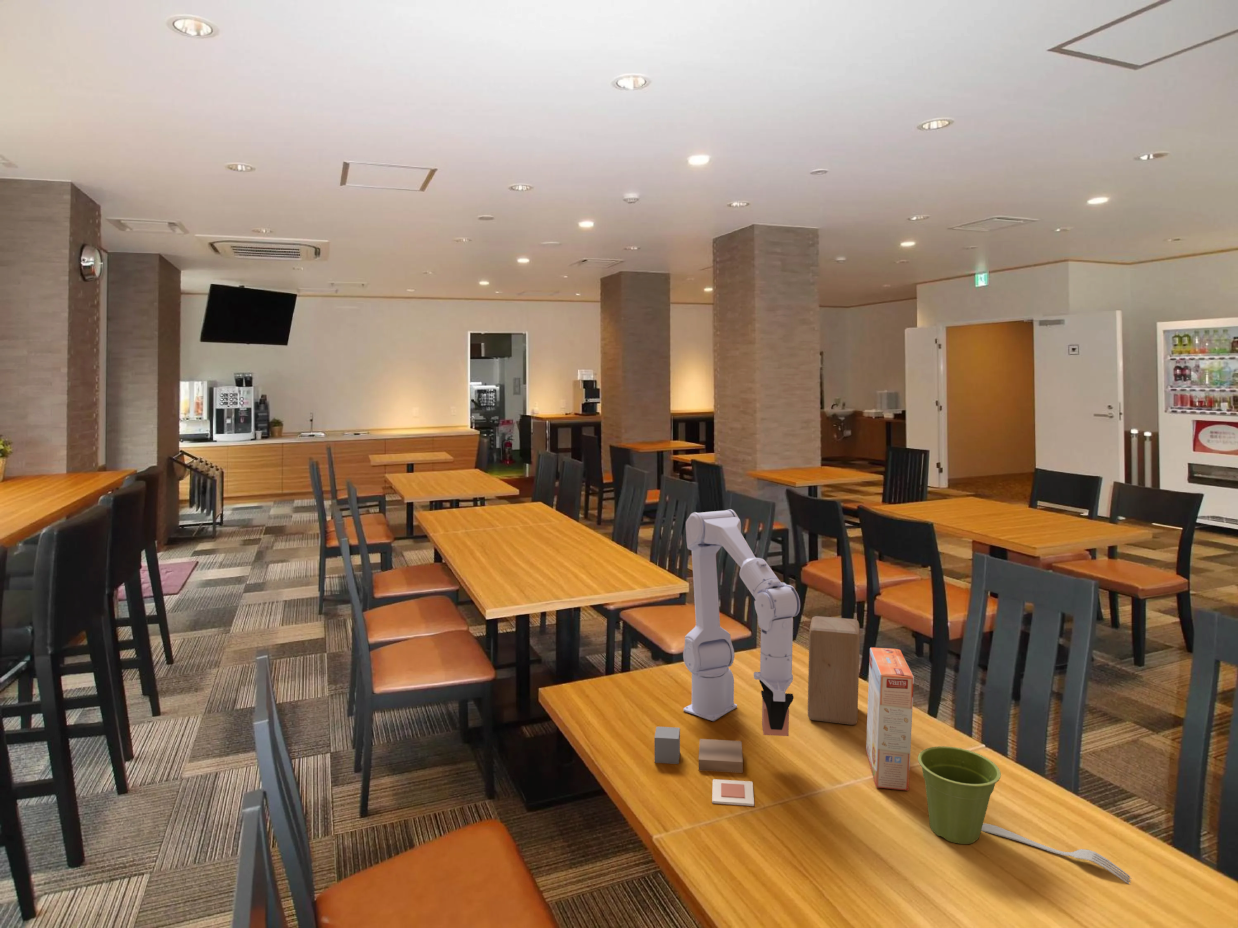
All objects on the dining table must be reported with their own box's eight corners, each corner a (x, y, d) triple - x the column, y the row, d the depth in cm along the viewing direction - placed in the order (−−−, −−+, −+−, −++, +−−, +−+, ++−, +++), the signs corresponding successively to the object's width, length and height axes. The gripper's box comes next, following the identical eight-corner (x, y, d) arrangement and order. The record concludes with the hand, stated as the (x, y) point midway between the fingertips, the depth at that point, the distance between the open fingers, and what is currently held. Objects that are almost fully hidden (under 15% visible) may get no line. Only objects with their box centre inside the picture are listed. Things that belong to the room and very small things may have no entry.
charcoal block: (656, 750, 145) (656, 726, 145) (679, 752, 145) (679, 727, 144) (654, 762, 141) (654, 737, 140) (678, 764, 140) (678, 738, 140)
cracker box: (911, 792, 130) (915, 676, 128) (874, 788, 131) (878, 674, 129) (898, 752, 144) (901, 647, 141) (865, 750, 145) (868, 645, 142)
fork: (982, 837, 122) (980, 820, 121) (1136, 879, 108) (1135, 860, 108) (976, 845, 120) (975, 828, 119) (1133, 889, 106) (1132, 870, 105)
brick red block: (762, 723, 142) (762, 698, 141) (786, 724, 141) (786, 699, 141) (763, 734, 137) (763, 708, 137) (788, 736, 137) (789, 709, 136)
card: (712, 781, 134) (712, 777, 134) (752, 783, 133) (752, 780, 133) (712, 802, 127) (712, 799, 127) (754, 805, 126) (754, 802, 126)
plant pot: (950, 861, 112) (953, 789, 110) (899, 816, 123) (902, 751, 122) (1015, 847, 115) (1019, 777, 113) (959, 805, 126) (962, 741, 125)
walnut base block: (699, 750, 146) (699, 738, 146) (741, 753, 145) (741, 741, 145) (698, 772, 138) (698, 759, 138) (742, 774, 137) (742, 761, 137)
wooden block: (807, 721, 157) (809, 628, 155) (809, 701, 167) (811, 614, 164) (857, 727, 154) (860, 633, 152) (856, 706, 164) (859, 618, 161)
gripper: (752, 637, 145) (751, 704, 147) (756, 665, 131) (755, 739, 133) (789, 638, 144) (787, 705, 146) (797, 667, 130) (796, 741, 132)
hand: (775, 722), depth 139 cm, fingers closed on brick red block, 4 cm apart
